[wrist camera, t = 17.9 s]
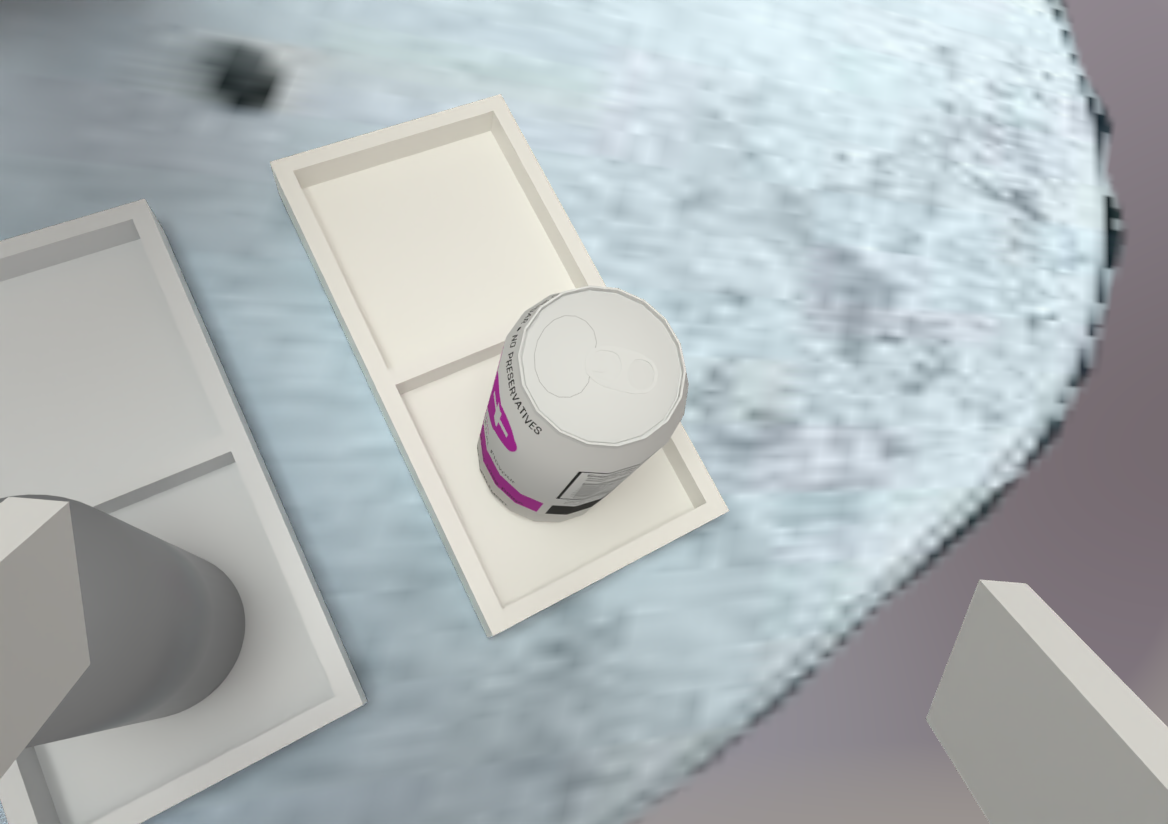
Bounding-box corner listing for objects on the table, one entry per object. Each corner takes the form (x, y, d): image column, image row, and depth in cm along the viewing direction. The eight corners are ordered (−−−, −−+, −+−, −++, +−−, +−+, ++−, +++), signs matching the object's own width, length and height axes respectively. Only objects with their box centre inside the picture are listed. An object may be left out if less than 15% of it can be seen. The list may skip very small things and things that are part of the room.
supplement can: (461, 506, 44) (482, 434, 30) (494, 373, 46) (527, 249, 32) (600, 538, 45) (683, 483, 31) (624, 406, 48) (711, 300, 34)
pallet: (279, 195, 49) (269, 161, 45) (495, 128, 53) (500, 94, 50) (487, 637, 43) (493, 636, 40) (708, 521, 48) (729, 510, 45)
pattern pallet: (-125, 319, 42) (-439, 121, 27) (164, 231, 47) (38, 18, 31) (63, 862, 37) (-196, 1010, 21) (367, 701, 41) (337, 726, 26)
